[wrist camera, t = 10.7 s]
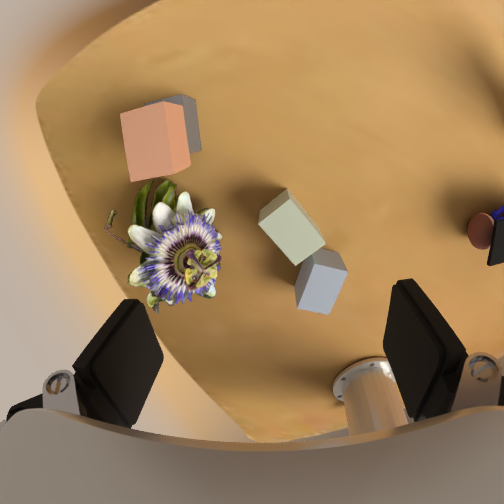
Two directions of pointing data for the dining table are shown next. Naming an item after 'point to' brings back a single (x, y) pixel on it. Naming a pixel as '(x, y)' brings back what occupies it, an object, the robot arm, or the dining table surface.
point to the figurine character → (488, 235)
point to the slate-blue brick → (320, 281)
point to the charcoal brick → (187, 119)
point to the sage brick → (290, 227)
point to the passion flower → (172, 246)
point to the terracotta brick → (155, 140)
